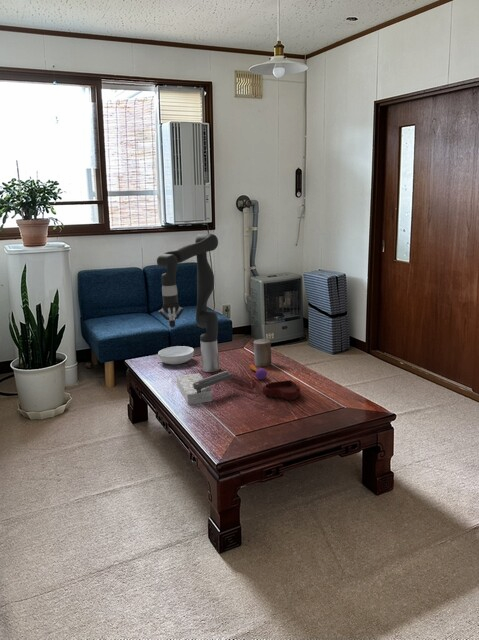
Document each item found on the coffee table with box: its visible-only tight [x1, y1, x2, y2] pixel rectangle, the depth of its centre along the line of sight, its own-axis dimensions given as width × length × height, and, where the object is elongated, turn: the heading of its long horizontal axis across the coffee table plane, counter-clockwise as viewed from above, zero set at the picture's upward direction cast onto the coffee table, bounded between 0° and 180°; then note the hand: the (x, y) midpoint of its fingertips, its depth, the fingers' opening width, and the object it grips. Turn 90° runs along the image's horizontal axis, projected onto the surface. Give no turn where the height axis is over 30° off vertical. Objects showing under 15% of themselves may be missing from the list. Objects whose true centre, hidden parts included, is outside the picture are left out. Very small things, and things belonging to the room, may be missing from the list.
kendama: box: [249, 363, 268, 381], centre depth 299 cm, size 6×6×20 cm
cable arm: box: [193, 370, 234, 389], centre depth 271 cm, size 5×22×3 cm, turn 134°
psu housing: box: [176, 372, 214, 406], centre depth 277 cm, size 12×28×7 cm, turn 17°
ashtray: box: [261, 380, 301, 402], centre depth 270 cm, size 18×16×5 cm
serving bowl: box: [157, 345, 195, 365], centre depth 327 cm, size 21×21×7 cm
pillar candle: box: [253, 338, 273, 368], centre depth 315 cm, size 10×10×15 cm
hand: (172, 327), depth 283 cm, fingers closed
